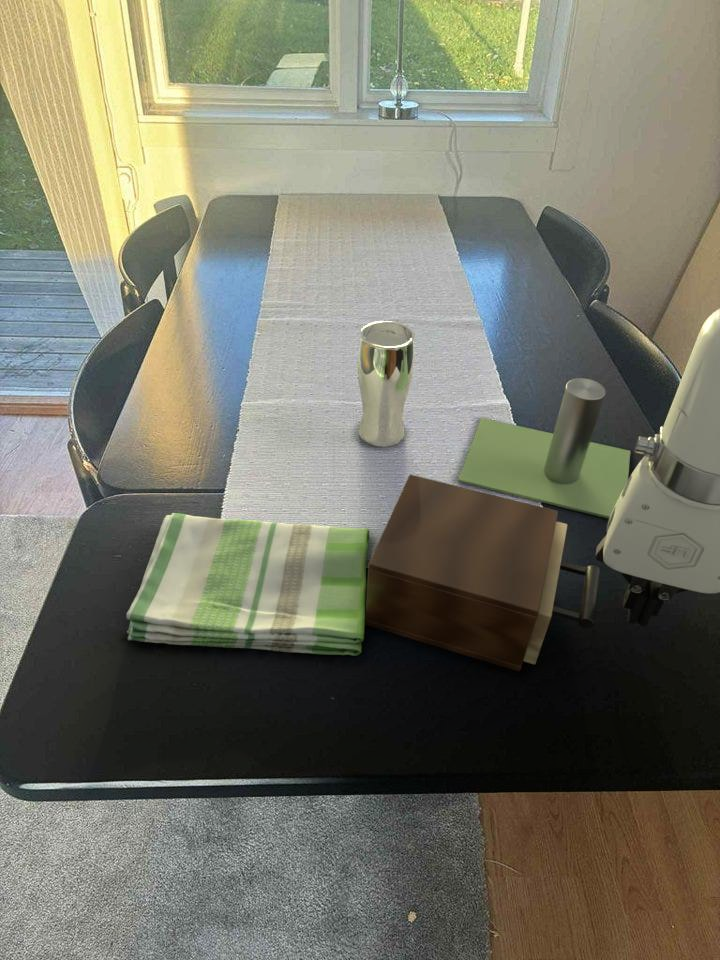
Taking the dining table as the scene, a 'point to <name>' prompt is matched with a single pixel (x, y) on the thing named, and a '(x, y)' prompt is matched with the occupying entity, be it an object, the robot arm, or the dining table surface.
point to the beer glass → (384, 380)
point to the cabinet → (461, 571)
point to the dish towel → (253, 586)
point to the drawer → (549, 590)
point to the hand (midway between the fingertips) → (636, 613)
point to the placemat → (520, 469)
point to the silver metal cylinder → (573, 430)
